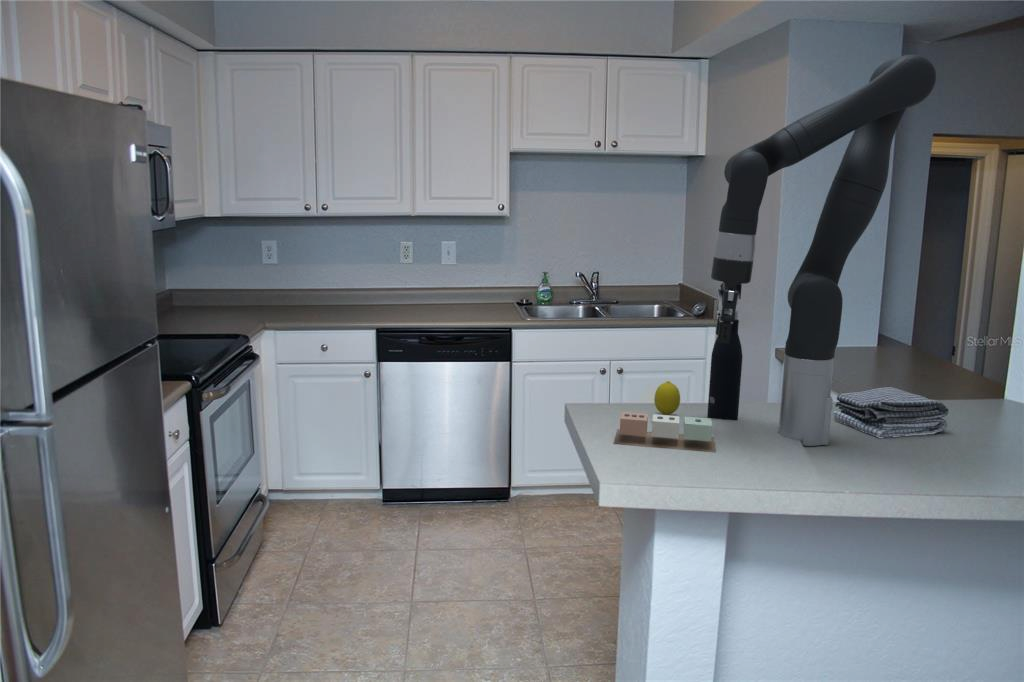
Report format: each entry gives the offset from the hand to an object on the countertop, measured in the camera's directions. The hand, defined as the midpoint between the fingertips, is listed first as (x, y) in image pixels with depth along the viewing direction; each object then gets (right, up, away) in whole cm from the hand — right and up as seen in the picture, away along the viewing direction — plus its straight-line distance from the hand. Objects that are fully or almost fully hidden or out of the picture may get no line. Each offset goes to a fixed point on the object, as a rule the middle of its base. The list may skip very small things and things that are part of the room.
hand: (722, 338), depth 158 cm
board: (-12, -21, -3) cm, 24 cm away
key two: (-12, -18, -4) cm, 22 cm away
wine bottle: (+4, -18, +16) cm, 24 cm away
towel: (+39, -19, +15) cm, 46 cm away
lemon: (-8, -17, +18) cm, 26 cm away
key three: (-18, -18, -3) cm, 26 cm away
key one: (-6, -19, -6) cm, 20 cm away
